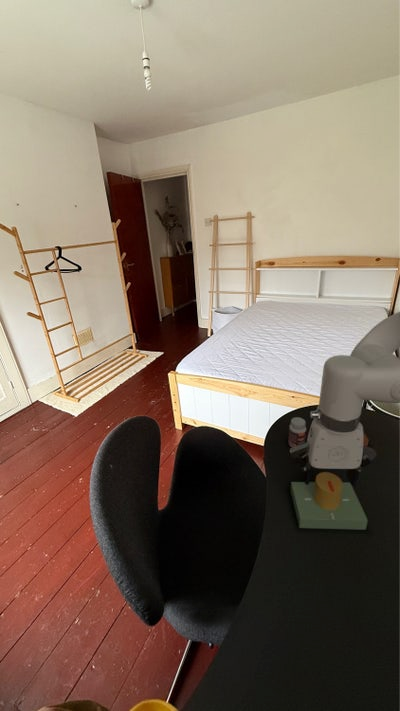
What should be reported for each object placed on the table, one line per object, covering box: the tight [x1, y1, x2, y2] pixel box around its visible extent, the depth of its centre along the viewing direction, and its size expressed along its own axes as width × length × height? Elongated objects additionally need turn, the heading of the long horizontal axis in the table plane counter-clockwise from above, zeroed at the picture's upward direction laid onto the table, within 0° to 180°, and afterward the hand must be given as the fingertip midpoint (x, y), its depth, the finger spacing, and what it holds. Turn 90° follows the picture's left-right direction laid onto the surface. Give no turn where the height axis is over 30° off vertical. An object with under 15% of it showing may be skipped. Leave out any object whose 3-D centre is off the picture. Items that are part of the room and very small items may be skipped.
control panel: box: [290, 481, 369, 531], centre depth 69 cm, size 14×10×3 cm
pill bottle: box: [288, 416, 307, 448], centre depth 88 cm, size 5×5×8 cm
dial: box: [314, 471, 343, 510], centre depth 67 cm, size 6×6×6 cm
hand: (327, 480), depth 66 cm, fingers open, 9 cm apart
